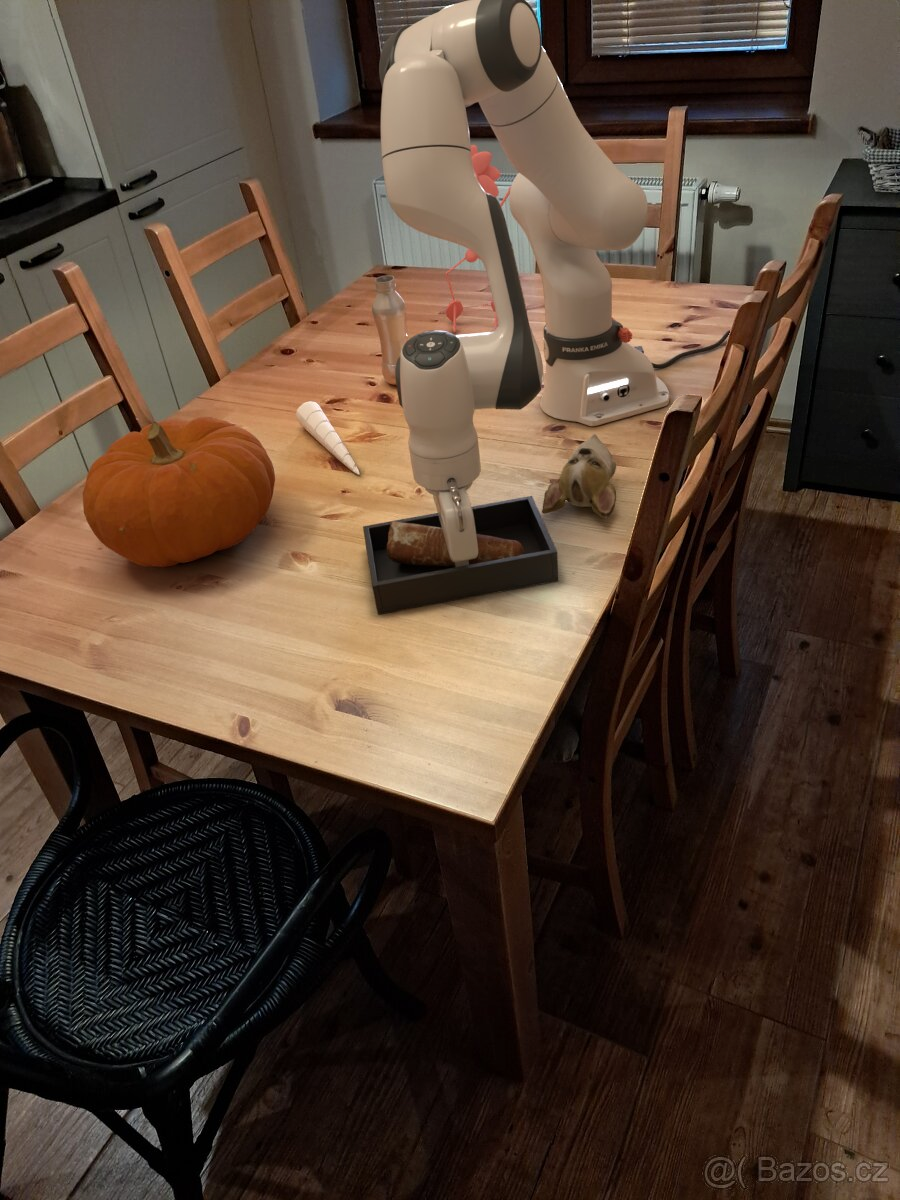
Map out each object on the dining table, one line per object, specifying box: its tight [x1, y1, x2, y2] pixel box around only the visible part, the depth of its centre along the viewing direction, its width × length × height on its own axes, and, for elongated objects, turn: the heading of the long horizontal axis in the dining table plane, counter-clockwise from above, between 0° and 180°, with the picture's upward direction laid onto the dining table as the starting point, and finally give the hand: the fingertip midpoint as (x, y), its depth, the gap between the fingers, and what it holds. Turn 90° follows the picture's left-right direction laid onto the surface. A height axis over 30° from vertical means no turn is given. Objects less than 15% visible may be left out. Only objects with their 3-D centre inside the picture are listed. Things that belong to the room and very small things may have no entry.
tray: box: [362, 495, 559, 615], centre depth 125 cm, size 25×15×5 cm, turn 99°
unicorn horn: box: [295, 400, 361, 476], centre depth 156 cm, size 5×24×5 cm, turn 24°
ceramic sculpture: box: [541, 433, 617, 520], centre depth 134 cm, size 11×9×15 cm
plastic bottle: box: [371, 275, 409, 385], centre depth 171 cm, size 6×7×20 cm
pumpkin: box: [82, 416, 276, 568], centre depth 134 cm, size 28×28×20 cm
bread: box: [387, 520, 525, 567], centre depth 124 cm, size 6×19×6 cm, turn 74°
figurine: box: [442, 144, 511, 333], centre depth 186 cm, size 15×26×35 cm, turn 75°
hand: (457, 549), depth 125 cm, fingers open, 7 cm apart
